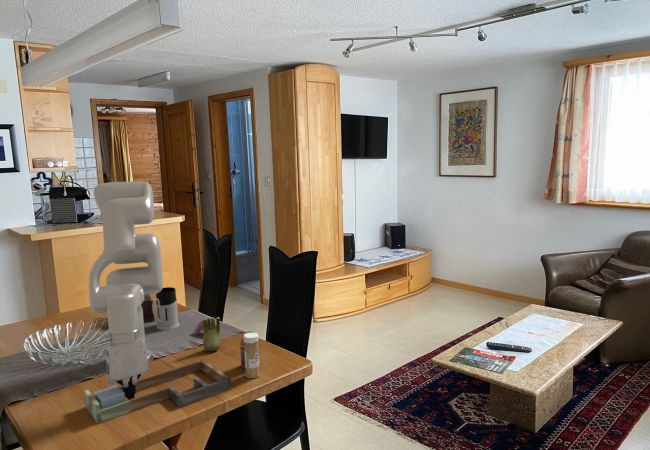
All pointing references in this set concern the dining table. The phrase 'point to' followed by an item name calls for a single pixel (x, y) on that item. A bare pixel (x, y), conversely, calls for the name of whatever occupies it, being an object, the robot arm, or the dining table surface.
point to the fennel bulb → (212, 334)
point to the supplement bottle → (244, 349)
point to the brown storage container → (147, 309)
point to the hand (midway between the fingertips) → (130, 397)
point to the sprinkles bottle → (251, 355)
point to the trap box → (163, 391)
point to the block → (109, 396)
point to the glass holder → (166, 309)
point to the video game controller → (201, 327)
